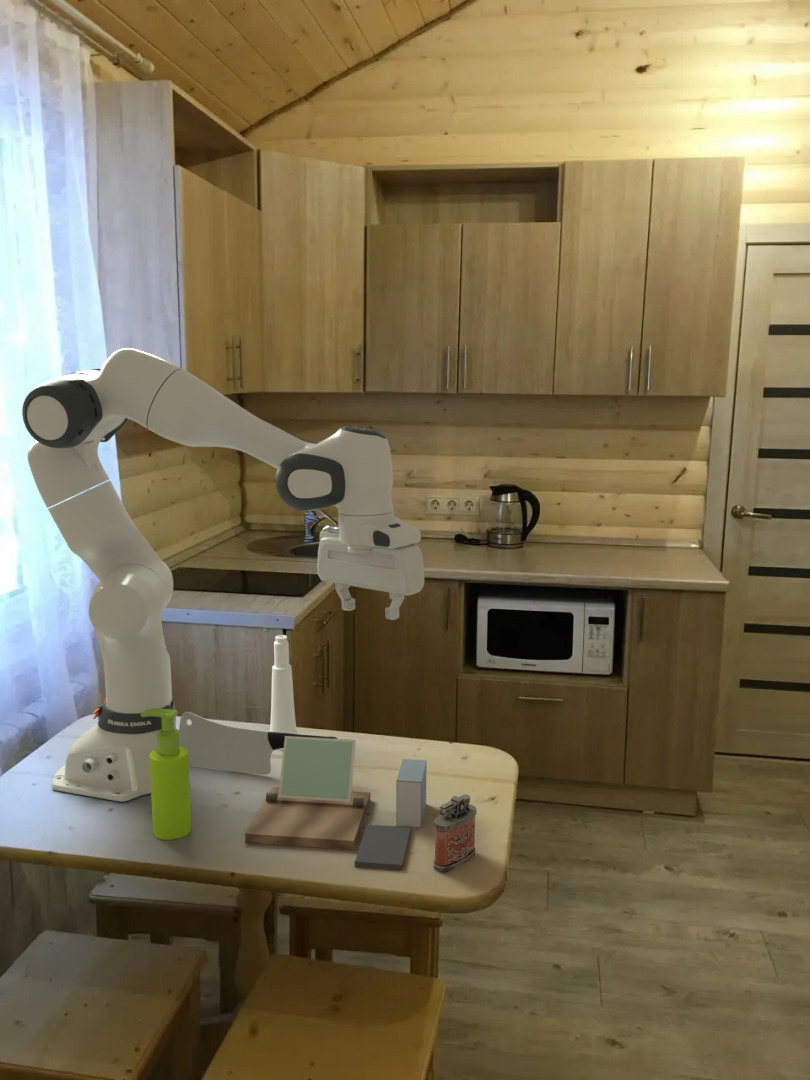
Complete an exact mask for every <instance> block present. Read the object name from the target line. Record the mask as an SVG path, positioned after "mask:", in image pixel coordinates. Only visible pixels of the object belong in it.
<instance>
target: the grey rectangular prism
mask: <svg viewBox="0 0 810 1080" xmlns="http://www.w3.org/2000/svg"><path fill="white" fill-rule="evenodd" d="M395 784H396V790H395V791H396V792H395V793H396V801H395V802H396V808H395V809H396V811H395V812H396V813H395V814H396V816H395V817H396V824H395V826H398V827H411V829H413V828H414V829H422V825H423V821H424V817H425V812H426V807H427V760H426V759H412V758H411V759H410V758H408V759H407V758H402V760H401V763H400V766H399V771H398V775H397V777H396V783H395Z"/></svg>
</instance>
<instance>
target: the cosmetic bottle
mask: <svg viewBox="0 0 810 1080" xmlns="http://www.w3.org/2000/svg"><path fill="white" fill-rule="evenodd" d="M274 638H275V640H274V642H273V655H274V657H273V658H274V664H273V665H272V666H271V669H272V670H271V703H270V707H271V708H270V727H269V732H284V733H294V734H298V730H297V723H296V711H295V702H294V701H295V699H294V698H295V697H294V687H293V685H294V684H293V682H294V681H293V670H292V664H290V650H289V649H290V647H289V641H288V640H287V639H288V636H287V635H285V634H280V635H276V636H275V637H274ZM277 750H279V751H280V750H281V751H283V750H284V748H280V749H277Z"/></svg>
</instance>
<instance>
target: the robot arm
mask: <svg viewBox="0 0 810 1080" xmlns="http://www.w3.org/2000/svg"><path fill="white" fill-rule="evenodd" d="M21 410H22V411H21V412H22V421H23V424H24V426H25V429H26V431H27V432H28V434H29V435H30V436H31V437H32V438H33V439H34V440H35V441H33V443H32V444H31V445H30V447H29V449H28V451H27V462H28V465H29V469H30V472H31V475H32V478H33V480H34V483H35V484H36V488H37V491H38V493H39V494H40V496H41V498H42V501H43V503H44V505H45V506H46V508H47V511H48V512H49V514H50V515H51V518H52V520H53V521H54V523H55V525H56V526H57V528H58V530H59V532H60V534H61V535H62V536H61V537H63V539H64V540H65V543H66V545H67V547H68V548H69V550H70V551H71V552H72V553H73V554H75V555H76V556H77V557H79V558H80V559H81V560H82V561H83V562H84V563H85V564H86V566H87V567H88V568H89V569H90V570H91V571H92V572H93V574H94V575H95V576H96V578H97V579H98V580H99V583H97V585H96V586H95V588H94V589H93V592H92V594H91V597H90V600H89V604H88V616H89V620H90V624H91V625H92V626H93V628H94V629H95V633H96V638H97V641H98V646H99V649H100V653H101V656H102V662H103V671H104V685H105V686H104V687H105V698H104V700H103V703H102V704H99V706H97V709H96V710H94V712H92V715H93V717H92V719H93V720H95V719H97V720H98V721H97V723H96V724H94V725H93V726H92V727H90V729H88V730H87V731H86V732H84V733H83V734H82V735H81V736H80V737H78V738H77V739H76V740H75V741H73V743H72V744H71V746H70V747H69V750H68V752H67V753H66V757H65V764H64V765H63V766H62V767H60V768H59V770H58V771H57V772H56V773H55V774H54V776H53V778H52V781H51V787H52V790H54V791H59V792H65V793H70V794H76V795H82V796H86V797H93V798H98V799H103V800H104V799H105V800H110V801H114V802H122V803H123V802H127V801H131V800H133V799H135V798H138V797H141V796H144V795H149V794H150V795H151V781H150V762H149V754H150V753H151V752H152V751H153V750H155V749H157V732H158V731H159V730H160V729H162V720H161V717H155V716H148V717H142V716H141V715H140V714H142V713H143V712H144V711H145V710H149V709H156V708H162V709H170V710H176V705H175V698H174V696H173V693H172V691H173V690H172V672H171V671H172V670H171V669H172V668H171V657H170V653H169V652H168V650H167V645H166V641H165V635H164V632H163V631H164V630H163V623H162V622H163V621H162V619H163V612H164V610H165V608H167V606H168V604H169V603H170V601H171V599H172V597H173V593H174V578H173V573H172V571H171V569H170V567H169V566H168V565H167V564H166V563H165V562H164V561H163V560H161V558H160V557H159V556H158V554H157V552H156V551H155V550H154V548H153V547H152V546H151V544H150V543H149V541H148V540H147V539H146V537H144V536H143V534H142V532H141V531H140V530H139V528H138V527H137V525H136V524H135V522H134V521H133V520H132V518H131V516H130V514H129V512H128V511H127V509H126V507H125V505H124V503H123V502H122V500H121V498H120V496H119V494H118V493H117V491H116V488H115V486H114V485H113V483H112V481H111V480H110V478H109V475H108V474H107V472H106V470H105V468H104V467H103V464H102V463H101V460H100V458H99V453H98V451H99V450H98V449H99V446H100V443H107V442H109V441H110V440H111V439H112V438H113V437H114V436H115V434H116V433H118V431H119V430H121V429H122V428H123V427H124V426H125V425H126V423H128V421H129V420H131V421H133V422H135V423H137V424H138V425H140V426H142V427H143V428H145V429H146V430H149V431H150V432H153V433H154V434H156V435H158V436H159V437H162V438H163V439H166V440H169V441H172V442H174V443H177V444H180V445H183V446H186V447H194V448H212V447H213V448H214V447H215V448H227V449H233V450H237V451H240V452H242V453H245V454H248V455H249V456H252V457H253V458H255V459H258V460H259V461H261V462H264V463H265V464H267V465H269V466H272V468H275V469H277V470H276V473H275V480H274V482H275V483H274V484H275V488H276V491H277V494H278V496H279V498H280V500H282V502H283V503H284V504H286V506H288V507H290V508H291V509H293V510H297V511H301V512H314V511H317V510H320V509H324V508H328V507H335V508H337V514H338V515H337V517H338V525H337V526H334V525H332V524H328V525H325V527H323V528H322V529H321V531H320V532H319V544H318V549H317V561H316V562H317V563H316V564H317V565H316V566H317V567H316V568H317V572H316V573H317V575H318V577H319V579H320V581H322V582H326V583H327V582H329V583H334V584H335V585H334V586H335V588H334V589H335V591H336V593H337V595H338V597H339V599H340V601H341V602H340V603H341V610H343V611H348V612H351V611H354V610H355V609H356V598H353V597H352V595H351V593H350V591H349V588H351V586H352V587H355V588H356V587H357V588H362V589H366V590H367V589H368V590H373V591H380V592H385V593H389V596H388V597H389V600H391V603H390V605H389V606H388V607H385V609H384V610H385V611H384V613H385V615H384V617H385V619H387V620H393V621H394V620H397V619H399V618H400V607H401V605H403V604H402V603H403V602H404V600H405V598H406V597H405V596H411V595H415V594H418V593H420V592H421V591H422V589H423V588H424V586H425V566H424V565H425V564H424V556H423V552H422V550H421V548H420V547H419V545H417V543H420V542H421V539H422V536H421V530H420V529H419V528H417V527H415V526H413V525H411V524H409V523H407V522H405V521H404V520H402V519H401V518H399V517H397V516H395V508H394V503H393V500H392V489H393V486H394V484H393V483H394V475H393V474H394V473H393V461H392V460H393V459H392V452H391V448H390V444H389V440H388V438H387V437H386V436H385V434H384V433H382V432H381V431H380V430H377V429H375V428H370V427H367V426H366V427H365V426H356V425H355V426H353V425H349V426H347V425H346V426H343V427H340V428H339V429H337V430H336V432H335V433H333V434H332V435H330V436H329V437H327V438H325V439H324V440H322V441H313V440H307V439H304V438H301V437H299V436H297V435H294V434H293V433H290V432H288V431H286V430H285V429H283V428H281V427H279V426H277V425H275V424H273V423H271V422H269V421H267V420H266V419H264V418H261V417H259V416H258V415H256V414H253V413H252V412H249V411H248V410H247V409H244V408H243V407H242V406H241V405H239V404H238V403H236V402H234V401H233V400H232V399H230V398H229V397H227V396H225V395H224V394H223V393H221V392H220V391H218V390H217V389H215V388H214V387H212V386H211V385H210V384H208V383H207V382H205V381H204V380H202V379H200V378H199V377H197V375H194V374H192V373H190V372H189V371H187V370H185V369H183V368H182V367H179V366H178V365H176V364H175V363H172V362H170V361H167V360H165V359H163V358H161V357H159V356H156V355H154V354H151V353H148V352H145V351H142V350H140V349H136V348H131V347H130V348H129V347H125V348H121V349H118V350H116V351H114V352H112V353H111V355H109V357H107V359H106V360H105V361H104V363H103V364H102V366H101V368H93V369H90V370H89V369H88V370H82V371H81V370H80V371H75V372H70V373H67V374H64V375H63V376H61V377H58V378H56V379H49V380H47V381H44V382H42V383H40V384H39V385H37V386H36V387H34V388H33V389H32V390H31V391H30V392H29V393H28V394H27V395H26V397H25V398H24V401H23V404H22V408H21ZM56 504H57V505H56ZM173 728H176V729H177V715H176V716H175V717H174V718H173Z"/></svg>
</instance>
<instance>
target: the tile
mask: <svg viewBox="0 0 810 1080" xmlns="http://www.w3.org/2000/svg"><path fill="white" fill-rule="evenodd" d="M356 746H357V740H356V739H345V738H337V739H330V738H312V737H294V736H285V741H284V750H282V751H283V752H282V759H281V760H282V762H281V769H280V770H281V771H280V780H279V786H278V787H279V796H278V797H279V798H290V799H306V800H321V801H337V802H351V798H352V791H353V785H354V784H353V782H354V772H355V771H354V770H355V761H356V748H357V747H356Z"/></svg>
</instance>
